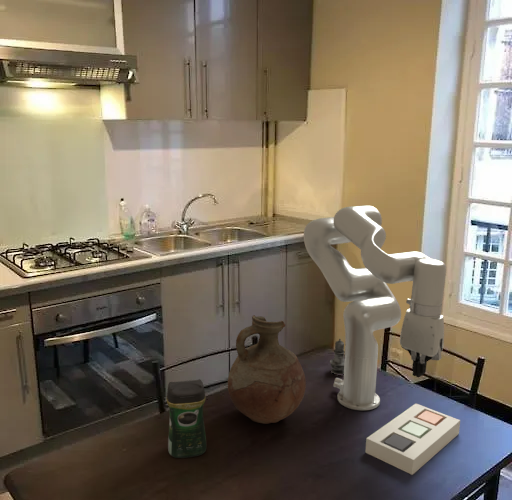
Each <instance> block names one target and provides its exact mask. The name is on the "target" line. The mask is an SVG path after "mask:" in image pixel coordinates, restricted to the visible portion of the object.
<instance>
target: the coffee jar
mask: <svg viewBox="0 0 512 500" xmlns="http://www.w3.org/2000/svg"><path fill="white" fill-rule="evenodd" d="M205 391H206V390H205V387H204V383H203V380H202V379H200V378H199V379H193V380H192V379H190V380H181V381H169V382H168V386H167V393H166V399H165V400H166V403H167V406H168V409H169V421H168V422H169V424H168V438H167V449H168V453H169V455H170V456H171V457H173V458H176V459H185V458H193V457H198V456H202V455H203V454H204V453H205V452H206V451H207V437H206V435H207V434H206V428H205V427H206V426H205V420H204V406H205V405H204V404H205V402H206V392H205Z"/></svg>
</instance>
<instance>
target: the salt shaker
mask: <svg viewBox="0 0 512 500" xmlns="http://www.w3.org/2000/svg"><path fill="white" fill-rule="evenodd" d="M333 353H334V355H333V359H330V360H329V363H330V366H331V368H332V369H330V371H332V373H334V374H344V363H345V342H344V341H342V340H341V338H339V339H338V340H337V341H335V345H334V350H333ZM332 373H331V374H332Z"/></svg>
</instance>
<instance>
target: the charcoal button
mask: <svg viewBox="0 0 512 500" xmlns="http://www.w3.org/2000/svg"><path fill="white" fill-rule="evenodd" d="M384 444H386V445H388V446H390V447H392V448H395V449H397V450H399V451H401V452H405V451H406V450H407V449H408V448H410V447H411V446H412V441H409V440H407V439H405V438H403V437H400V436H398V435H396V434H394V435H392V436H391V437H390V438H388V439H387V440H386V441H384Z"/></svg>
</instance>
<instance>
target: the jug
mask: <svg viewBox="0 0 512 500" xmlns="http://www.w3.org/2000/svg"><path fill="white" fill-rule="evenodd" d="M285 327H286V324H285V322H284V320H283V321H282V320H280V321H267V320H266V318H265V316H259V315H258V316H256V315H254V314H253V315H252V316H251V325H249V326H247V327H243V328H242V329H241V330H240V332H238V334H237V337H236V340H235V347H236V352H237V356H236V358H235V360H234V361H233V363H232V365H231V367H230V369H229V373H228V378H227V390H228V395H229V398H230V400H231V402H232V404H233V405H234V407H235V408H236V410H238V411H239V412H240V413H242V414H243V415H244V416H246V417H248V418H249V419H250V420H251V421H252V422H254V423H258V424H259V423H260V424H263V425H266V424H267V425H268V424H271V423H273V424H275V423H278V422H279V421H281V420H284V419H285V418H287V417H289V416H290V415H292V414H293V413H294V412H295V411H296V410H297V409H298V408H299V406H300V404H301V402H302V401H303V399H304V396H305V392H306V388H307V387H306V386H307V385H306V384H307V383H306V382H307V381H306V375H305V372H304V370H303V366H302V365H301V362H300V360H299V359H298V357H297V354H295V353H294V352H293V351H292V350H289V349H287V347H284V346H283V345H282V344H281V345H280V342H279V333H280V332H282V330H283V328H285ZM257 334H258V335H259V338H258V341H257V343H256V344H252V345H251V346H249V347H246V346H245V343H246V340H247V339H248V338H249V337H252V336H253V335H257Z"/></svg>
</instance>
